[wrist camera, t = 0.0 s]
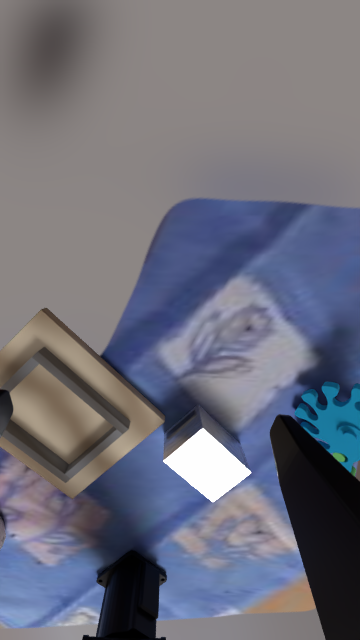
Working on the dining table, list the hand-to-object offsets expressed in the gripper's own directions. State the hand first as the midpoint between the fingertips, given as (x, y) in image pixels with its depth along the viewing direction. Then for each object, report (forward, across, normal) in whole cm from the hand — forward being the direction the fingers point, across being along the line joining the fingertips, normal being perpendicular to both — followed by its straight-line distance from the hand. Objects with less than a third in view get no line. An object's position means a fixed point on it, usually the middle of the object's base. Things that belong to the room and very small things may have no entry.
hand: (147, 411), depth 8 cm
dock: (+12, +9, +15) cm, 21 cm away
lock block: (+12, -6, +17) cm, 22 cm away
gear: (+13, -19, +12) cm, 26 cm away
